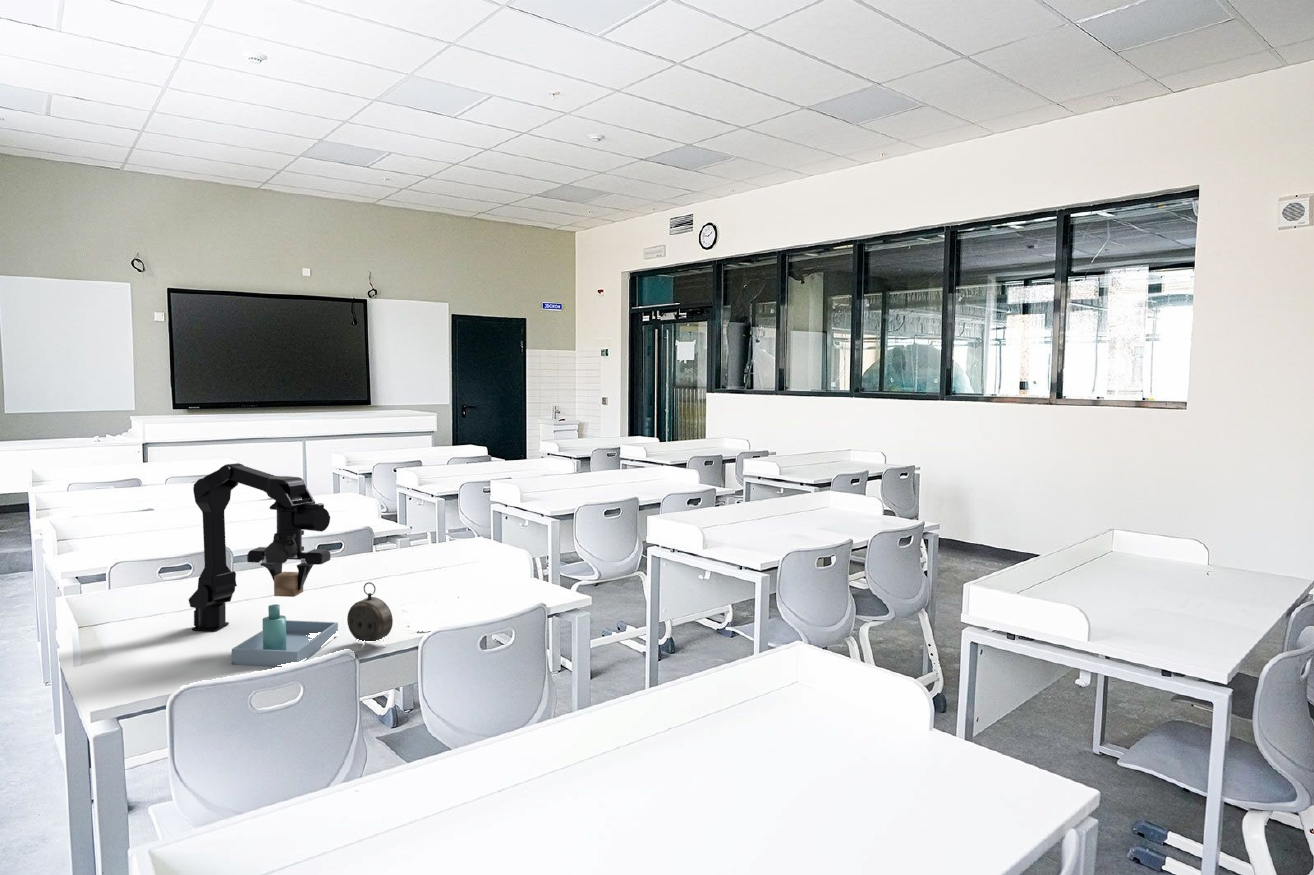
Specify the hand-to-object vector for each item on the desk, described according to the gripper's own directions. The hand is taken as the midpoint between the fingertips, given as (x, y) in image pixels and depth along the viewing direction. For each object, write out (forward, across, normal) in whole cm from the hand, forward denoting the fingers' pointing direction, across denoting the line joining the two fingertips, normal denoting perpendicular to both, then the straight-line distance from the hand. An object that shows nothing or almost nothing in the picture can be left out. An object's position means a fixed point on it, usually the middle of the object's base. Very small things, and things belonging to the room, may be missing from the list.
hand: (289, 589), depth 205 cm
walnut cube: (+1, 0, 0) cm, 1 cm away
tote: (+13, +2, -6) cm, 15 cm away
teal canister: (+13, +2, -12) cm, 18 cm away
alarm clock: (+14, +20, 0) cm, 24 cm away
